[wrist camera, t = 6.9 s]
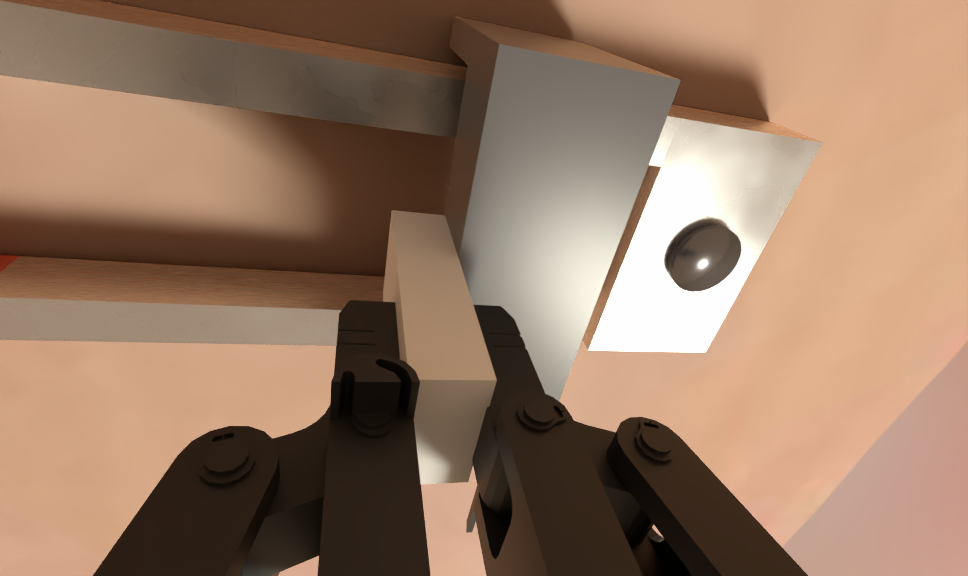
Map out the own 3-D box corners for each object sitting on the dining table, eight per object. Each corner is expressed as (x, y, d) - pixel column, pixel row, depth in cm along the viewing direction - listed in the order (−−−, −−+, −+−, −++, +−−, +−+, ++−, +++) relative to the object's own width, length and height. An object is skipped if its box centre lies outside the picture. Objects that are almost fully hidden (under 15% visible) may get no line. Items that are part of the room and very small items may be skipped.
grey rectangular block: (581, 42, 15) (681, 79, 10) (501, 338, 21) (540, 447, 16) (453, 15, 14) (499, 44, 9) (407, 336, 20) (421, 452, 15)
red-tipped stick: (462, 281, 19) (472, 315, 17) (455, 312, 19) (465, 348, 18) (-108, 248, 14) (-176, 291, 12) (-86, 291, 15) (-147, 337, 13)
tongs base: (770, 122, 18) (832, 146, 16) (674, 316, 23) (710, 358, 20) (-250, -63, 10) (-428, -70, 8) (-79, 286, 15) (-160, 346, 13)
